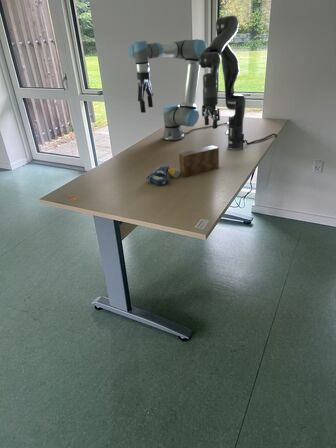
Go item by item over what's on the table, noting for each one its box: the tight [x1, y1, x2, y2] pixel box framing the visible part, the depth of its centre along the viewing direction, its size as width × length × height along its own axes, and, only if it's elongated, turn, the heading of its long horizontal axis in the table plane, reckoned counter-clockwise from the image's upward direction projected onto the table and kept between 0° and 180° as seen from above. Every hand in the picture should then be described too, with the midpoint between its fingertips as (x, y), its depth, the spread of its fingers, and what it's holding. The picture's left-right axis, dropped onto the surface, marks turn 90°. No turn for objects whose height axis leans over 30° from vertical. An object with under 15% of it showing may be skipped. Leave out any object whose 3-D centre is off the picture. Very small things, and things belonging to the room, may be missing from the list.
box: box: [178, 144, 220, 178], centre depth 188 cm, size 22×6×12 cm, turn 114°
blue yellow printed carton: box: [146, 164, 180, 186], centre depth 185 cm, size 21×4×15 cm
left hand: (147, 109), depth 203 cm, fingers open, 13 cm apart
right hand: (210, 126), depth 181 cm, fingers open, 8 cm apart
